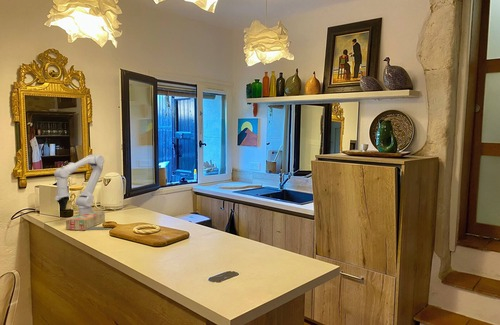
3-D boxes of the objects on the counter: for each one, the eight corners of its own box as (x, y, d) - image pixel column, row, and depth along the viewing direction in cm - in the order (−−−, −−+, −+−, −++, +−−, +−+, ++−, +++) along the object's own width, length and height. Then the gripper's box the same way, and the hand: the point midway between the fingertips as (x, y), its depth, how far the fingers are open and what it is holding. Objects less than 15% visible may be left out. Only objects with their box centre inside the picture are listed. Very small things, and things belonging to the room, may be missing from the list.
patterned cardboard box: (105, 221, 236) (88, 220, 238) (105, 212, 235) (88, 211, 238) (83, 230, 215) (65, 229, 217) (83, 219, 214) (65, 219, 217)
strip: (80, 227, 222) (80, 227, 222) (114, 226, 223) (114, 226, 223) (76, 230, 216) (76, 230, 216) (111, 229, 218) (111, 228, 217)
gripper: (63, 189, 216) (64, 212, 217) (74, 186, 230) (75, 207, 232) (51, 189, 216) (52, 212, 217) (63, 186, 230) (64, 207, 232)
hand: (63, 209), depth 224 cm, fingers closed
